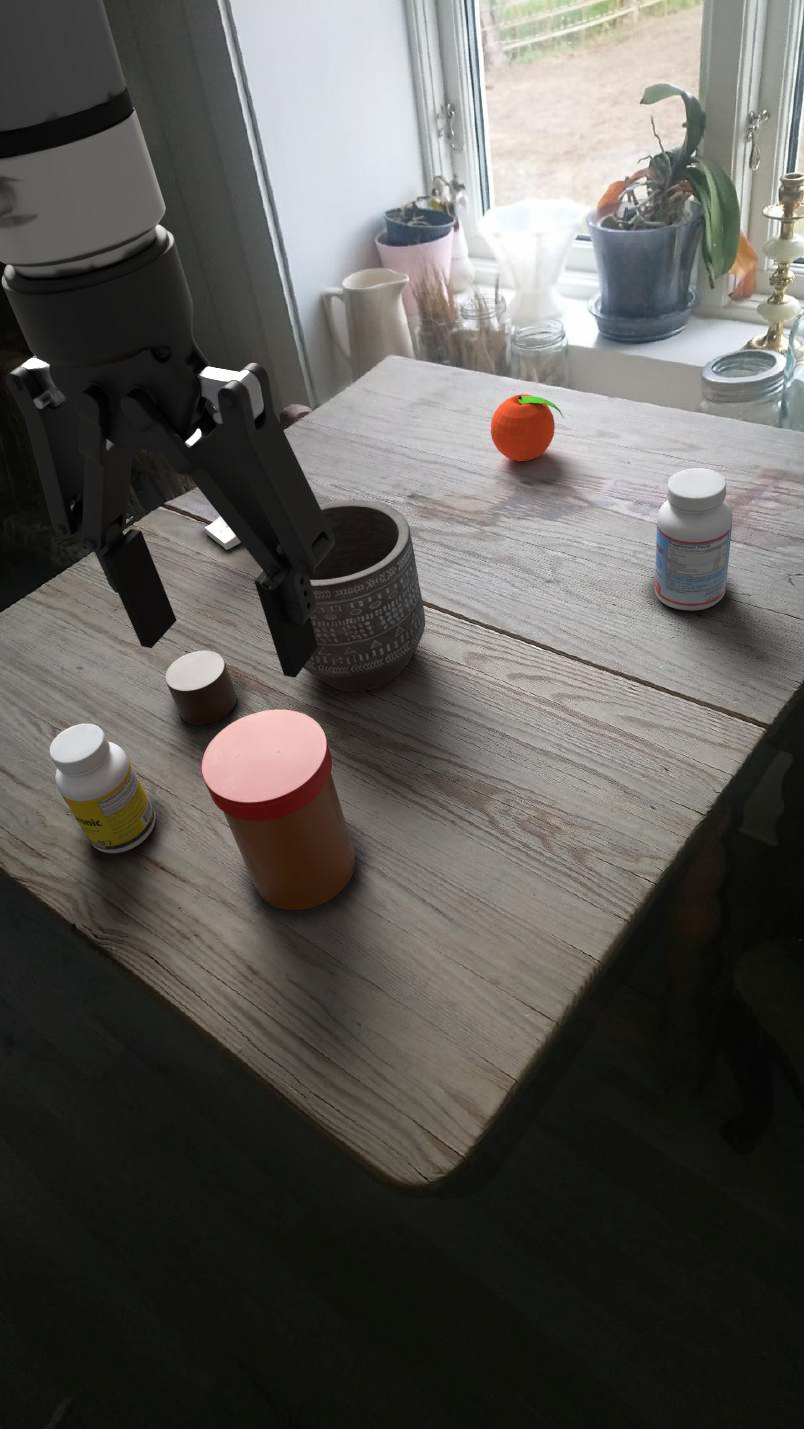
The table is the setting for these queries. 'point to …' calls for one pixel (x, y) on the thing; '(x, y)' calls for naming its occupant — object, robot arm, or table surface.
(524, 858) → the table surface
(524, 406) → the clementine
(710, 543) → the pill bottle
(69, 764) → the supplement bottle
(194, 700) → the stand
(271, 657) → the table surface
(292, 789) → the jam lid
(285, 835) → the jam jar
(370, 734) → the table surface
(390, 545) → the planter
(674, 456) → the table surface
